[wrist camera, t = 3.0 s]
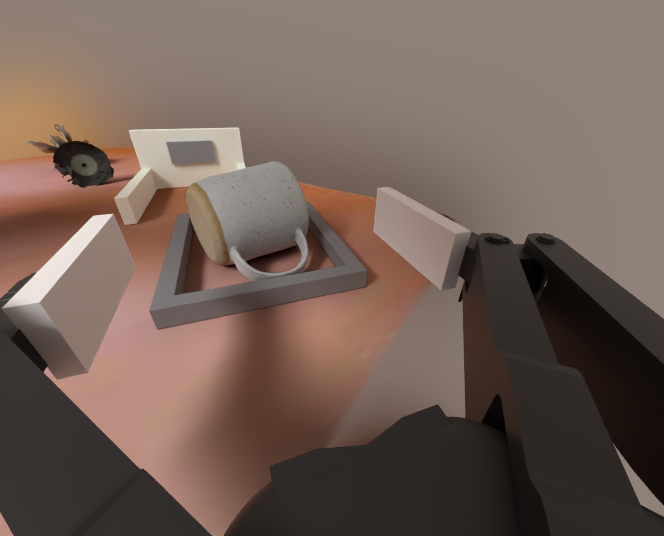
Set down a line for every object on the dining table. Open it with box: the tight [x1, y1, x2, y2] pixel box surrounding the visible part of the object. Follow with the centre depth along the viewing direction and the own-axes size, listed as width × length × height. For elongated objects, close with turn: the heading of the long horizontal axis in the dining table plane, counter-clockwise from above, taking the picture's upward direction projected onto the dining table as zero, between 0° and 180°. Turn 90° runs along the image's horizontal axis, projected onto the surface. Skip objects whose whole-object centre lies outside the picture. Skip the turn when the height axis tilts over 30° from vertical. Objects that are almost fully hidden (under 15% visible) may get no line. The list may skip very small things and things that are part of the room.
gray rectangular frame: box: [150, 202, 368, 329], centre depth 26 cm, size 14×16×2 cm
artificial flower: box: [28, 124, 114, 187], centre depth 49 cm, size 9×22×10 cm, turn 40°
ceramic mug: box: [186, 161, 309, 282], centre depth 23 cm, size 11×8×8 cm
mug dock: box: [114, 128, 246, 225], centre depth 37 cm, size 14×15×8 cm
